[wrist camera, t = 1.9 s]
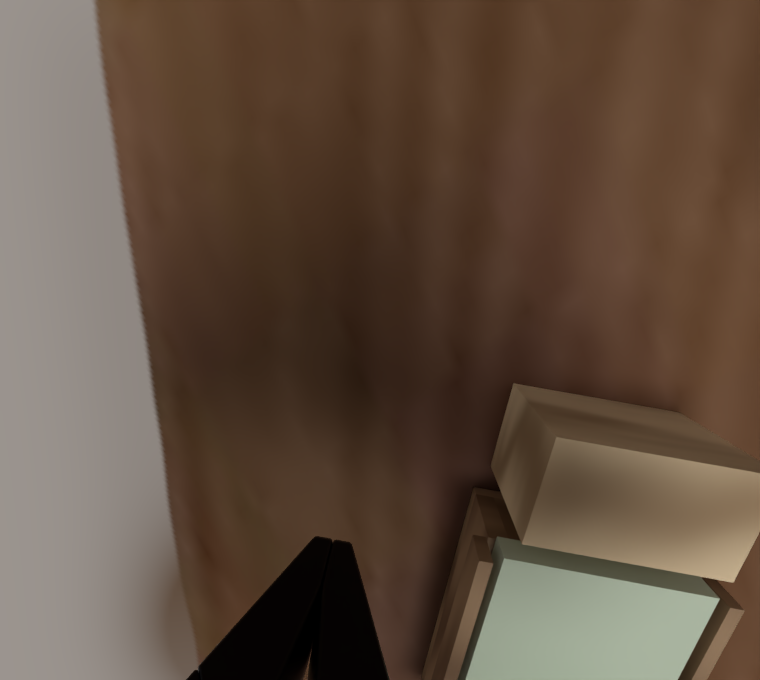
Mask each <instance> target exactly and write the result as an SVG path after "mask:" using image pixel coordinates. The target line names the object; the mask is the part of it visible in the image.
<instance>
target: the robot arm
mask: <svg viewBox="0 0 760 680" xmlns="http://www.w3.org/2000/svg"><path fill="white" fill-rule="evenodd" d="M332 543H333V544H332ZM311 649H312V651H311ZM310 653H311V657H310ZM309 657H310V664H309V671H308V680H389V676H388V673H387V669H386V666H385V662H384V658H383V655H382V651H381V647H380V644H379V640H378V637H377V633H376V629H375V626H374V622H373V619H372V615H371V611H370V608H369V604H368V600H367V597H366V593H365V590H364V586H363V582H362V579H361V575H360V572H359V568H358V564H357V561H356V557H355V553H354V550H353V546H352V544H351V543H350V542H346V541H340V540H334V541H333V542H332V540H331V539H330V538H324V537H319V536H316V537H314V538H313V539H312V540H311V541H310V542H309V543H308V544H307V546H306V547H305V548H304V549H303V550H302V551H301V552H300V553H299V554H298V556H297V557H296V558H295V559H294V560H293V561H292V562H291V563H290V565H289V566H288V567H287V568H286V569H285V570H284V571H283V572H282V573H281V575H280V576H279V577H278V578H277V579H276V580H275V581H274V582H273V584H272V585H271V586H270V587H269V588H268V589H267V590H266V591H265V592H264V594H263V595H262V596H261V597H260V598H259V599H258V600H257V601H256V603H255V604H254V605H253V606H252V607H251V608H250V609H249V610H248V611H247V613H246V614H245V615H244V616H243V617H242V618H241V619H240V620H239V622H238V623H237V624H236V625H235V626H234V627H233V628H232V629H231V630H230V632H229V633H228V634H227V635H226V636H225V637H224V638H223V639H222V641H221V642H220V643H219V644H218V645H217V646H216V647H215V648H214V650H213V651H212V652H211V653H210V654H209V655H208V656H207V657H206V658H205V660H204V661H203V662H202V663H201V664H200V665H199V667H198V670H195V671H194V672H193V673H192V674H191V675H190V676H189V677H188V678H187V679H186V680H303V678H304V675H305V671H306V668H307V664H308V661H309Z"/></svg>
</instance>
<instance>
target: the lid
mask: <svg viewBox="0 0 760 680" xmlns="http://www.w3.org/2000/svg"><path fill="white" fill-rule="evenodd" d="M491 557H492V560H493V567H492V570H491V573H490V576H489V579H488V583H487V586H486V589H485V592H484V596H483V599H482V602H481V605H480V608H479V612H478V615H477V618H476V621H475V625H474V628H473V631H472V634H471V637H470V641H469V644H468V647H467V650H466V654H465V657H464V660H463V663H462V666H461V670H460V673H459V676H458V679H457V680H678V678H679V676H680V674H681V672H682V670H683V669H684V667H685V665H686V663H687V661H688V659H689V657H690V655H691V653H692V651H693V649H694V648H695V646H696V644H697V642H698V640H699V638H700V636H701V634H702V632H703V630H704V628H705V627H706V625H707V623H708V621H709V619H710V617H711V615H712V613H713V611H714V609H715V607H716V606H717V604H718V602H719V600H720V598H719V597H718V596H717V595H716V594H715V593H714V591H713V590H712V589H711V588H710V587H709V586H708V585H707V584H706V583H705V581H704V580H703V579H702V578H701V577H700V576H694V575H689V574H683V573H678V572H672V571H667V570H661V569H656V568H650V567H645V566H639V565H634V564H628V563H622V562H617V561H611V560H606V559H600V558H595V557H589V556H584V555H578V554H573V553H567V552H562V551H556V550H551V549H545V548H540V547H534V546H529V545H523V544H522V543H521V541H519V540H514V539H509V538H503V537H498V536H497V538H496V541H495V544H494V548H493V551H492V554H491Z"/></svg>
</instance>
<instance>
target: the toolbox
mask: <svg viewBox="0 0 760 680" xmlns="http://www.w3.org/2000/svg"><path fill="white" fill-rule="evenodd" d="M497 536H498V537H503V538H509V539H514V540H519V541H520V538H519V536H518V533H517V531H516V528H515V526H514V523H513V521H512V518H511V516H510V513H509V511H508V508H507V506H506V503H505V501H504V498H503V496H502V493H501V492H499V491H493V490H488V489H482V488H477V487H473V491H472V494H471V498H470V501H469V505H468V509H467V512H466V516H465V520H464V523H463V527H462V531H461V534H460V538H459V542H458V545H457V549H456V552H455V556H454V560H453V563H452V567H451V571H450V574H449V578H448V582H447V585H446V589H445V592H444V596H443V600H442V603H441V607H440V611H439V614H438V618H437V622H436V625H435V629H434V632H433V636H432V640H431V643H430V647H429V651H428V654H427V658H426V662H425V665H424V669H423V673H422V676H421V680H457V679H458V676H459V673H460V670H461V666H462V663H463V660H464V657H465V654H466V650H467V647H468V644H469V641H470V637H471V634H472V631H473V628H474V625H475V621H476V618H477V615H478V612H479V608H480V605H481V602H482V599H483V596H484V592H485V589H486V586H487V583H488V579H489V576H490V573H491V570H492V567H493V560H492V557H491V554H492V551H493V548H494V544H495V541H496V538H497ZM702 579H703V580H704V581H705V583H706V584H707V585H708V586H709V587H710V588H711V589H712V590H713V591H714V593H715V594H716V595H717V596H718V597H719V598H720V600H719V602H718V604H717V606H716V607H715V609H714V611H713V613H712V615H711V617H710V619H709V621H708V623H707V625H706V627H705V628H704V630H703V632H702V634H701V636H700V638H699V640H698V642H697V644H696V646H695V648H694V649H693V651H692V653H691V655H690V657H689V659H688V661H687V663H686V665H685V667H684V669H683V670H682V672H681V674H680V676H679V678H678V680H707V678H708V677H709V675H710V673H711V671H712V669H713V667H714V666H715V664H716V662H717V660H718V658H719V657H720V655H721V653H722V651H723V649H724V648H725V646H726V644H727V642H728V640H729V638H730V637H731V635H732V633H733V631H734V629H735V628H736V626H737V624H738V622H739V620H740V618H741V617H742V615H743V613H744V611H745V610H744V609H743V608H742V607H741V606H740V605H739V604H738V603H737V602H736V601H735V600H734V599H733V597H732V596H731V595H730V594H729V593H728V592H727V591H726V590H725V589H724V588H723V587H722V586H721V585H720V584H719V582H718V581H717V580H714V579H709V578H702Z"/></svg>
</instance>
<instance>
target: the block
mask: <svg viewBox="0 0 760 680" xmlns="http://www.w3.org/2000/svg"><path fill="white" fill-rule="evenodd" d="M491 468H492V471H493V473H494V476H495V478H496V481H497V483H498V486H499V488H500V491H501V493H502V496H503V498H504V501H505V503H506V506H507V508H508V511H509V513H510V516H511V518H512V521H513V523H514V526H515V528H516V531H517V533H518V536H519V538H520V541H521V543H522V544H523V545H529V546H534V547H540V548H545V549H551V550H556V551H562V552H567V553H573V554H578V555H584V556H589V557H595V558H600V559H606V560H611V561H617V562H622V563H628V564H634V565H639V566H645V567H650V568H656V569H661V570H667V571H672V572H678V573H683V574H689V575H694V576H700V577H705V578H711V579H716V580H722V581H727V582H734V580H735V578H736V576H737V574H738V572H739V571H740V569H741V567H742V565H743V563H744V561H745V559H746V557H747V555H748V553H749V551H750V549H751V548H752V546H753V544H754V542H755V540H756V538H757V536H758V534H759V532H760V461H759V460H757V459H755V458H754V457H752V456H751V455H749V454H747V453H746V452H744V451H742V450H741V449H739V448H737V447H736V446H734V445H732V444H731V443H729V442H727V441H726V440H724V439H723V438H721V437H719V436H718V435H716V434H714V433H713V432H711V431H709V430H708V429H706V428H704V427H703V426H701V425H700V424H698V423H696V422H695V421H693V420H691V419H690V418H688V417H686V416H685V415H683V414H681V413H680V412H674V411H669V410H663V409H657V408H652V407H646V406H640V405H634V404H629V403H623V402H617V401H612V400H606V399H600V398H595V397H589V396H583V395H577V394H572V393H566V392H560V391H555V390H549V389H543V388H538V387H532V386H526V385H521V384H515V383H513V387H512V390H511V394H510V397H509V401H508V405H507V408H506V412H505V415H504V419H503V423H502V426H501V430H500V434H499V437H498V441H497V444H496V448H495V452H494V455H493V459H492V462H491Z"/></svg>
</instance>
